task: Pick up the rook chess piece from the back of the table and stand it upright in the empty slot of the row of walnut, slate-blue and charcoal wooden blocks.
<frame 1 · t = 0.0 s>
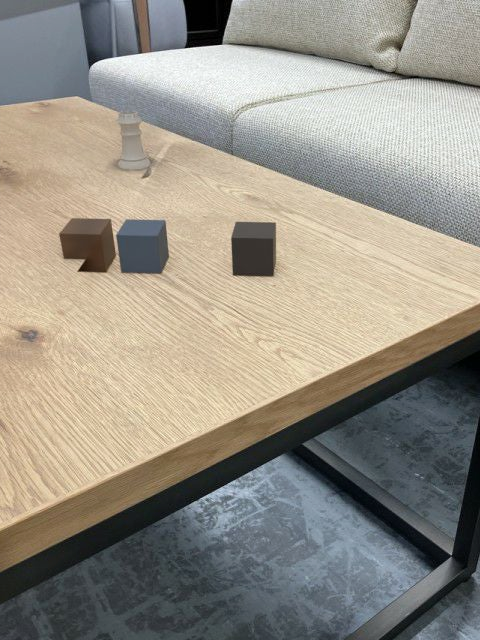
rook chess piece: (135, 176, 94), on the table
block b: (145, 264, 70), on the table
block c: (254, 267, 70), on the table
block a: (91, 263, 70), on the table
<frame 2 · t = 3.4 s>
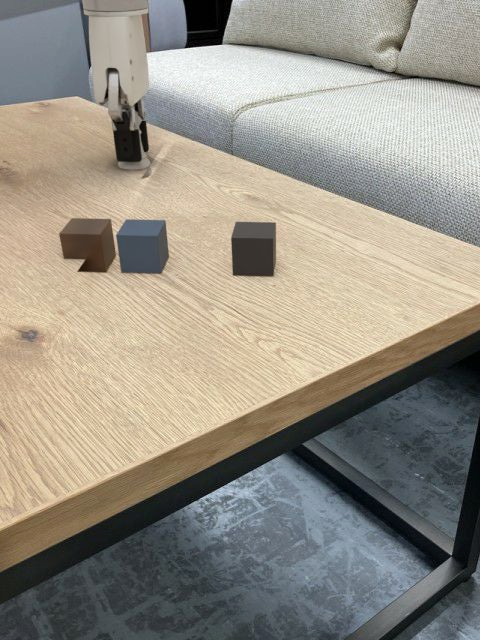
hand: (133, 154, 92), 3 cm above the table, tool pointing down, fingers closed on rook chess piece, 3 cm apart
rook chess piece: (135, 176, 94), on the table, touching gripper
everything else where it was.
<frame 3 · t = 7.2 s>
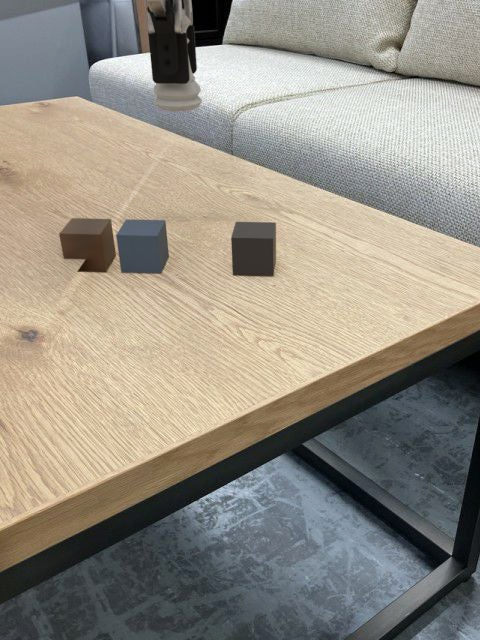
hand: (175, 75, 63), 17 cm above the table, tool pointing down, fingers closed on rook chess piece, 3 cm apart
rook chess piece: (178, 108, 65), point 14 cm above the table, touching gripper
everything else where it was.
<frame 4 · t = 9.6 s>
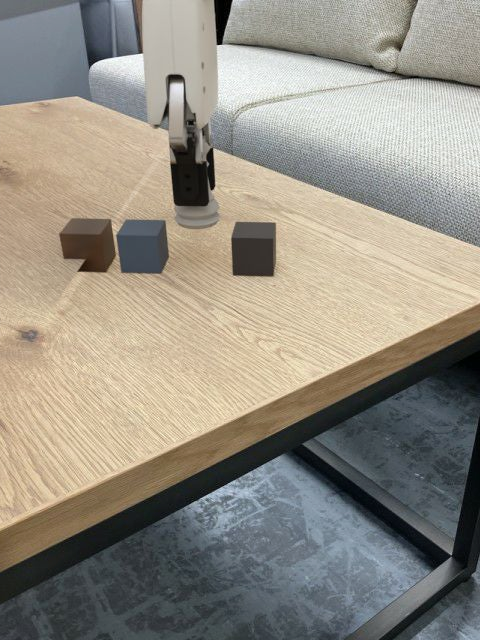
hand: (195, 195, 66), 7 cm above the table, tool pointing down, fingers closed on rook chess piece, 3 cm apart
rook chess piece: (198, 223, 67), point 4 cm above the table, touching gripper
everything else where it was.
when the fingers open (3 cm above the table, at t = 11.1 s): rook chess piece stays where it is, on the table.
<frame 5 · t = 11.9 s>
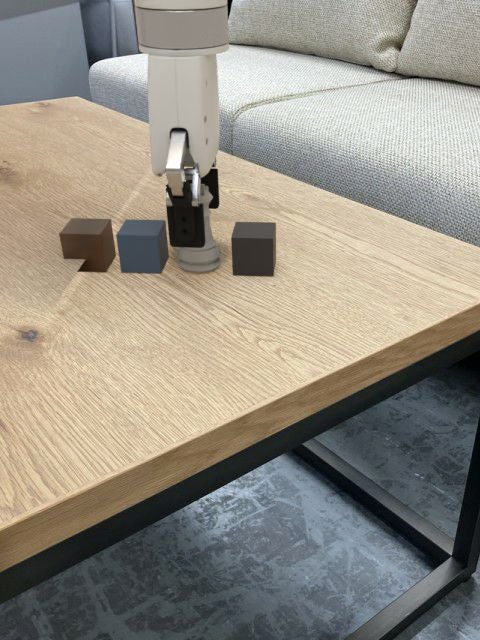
hand: (196, 225, 68), 4 cm above the table, tool pointing down, fingers open, 9 cm apart
rook chess piece: (200, 267, 70), on the table
everything else where it was.
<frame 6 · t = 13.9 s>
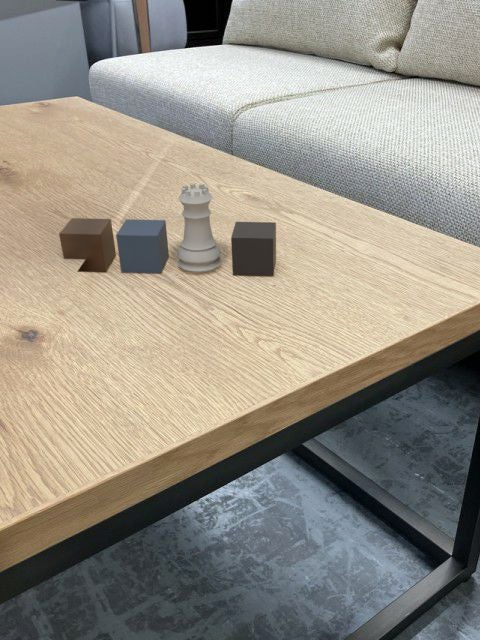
nothing on the table moved.
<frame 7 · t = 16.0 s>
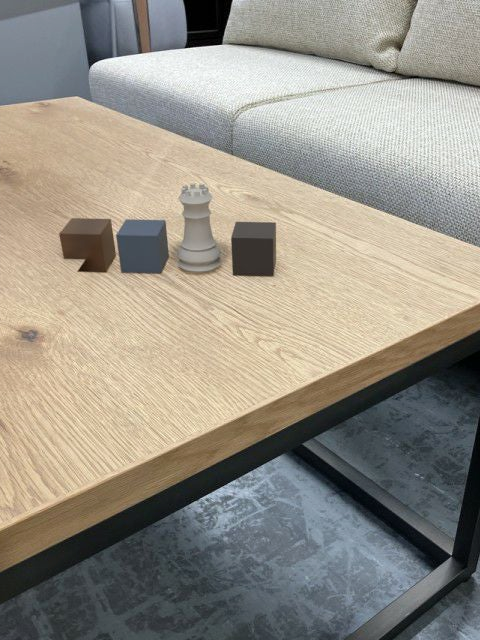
nothing on the table moved.
at the end: rook chess piece 0.0 cm from the target spot on the table beside the block b, on the table; rook chess piece tilted 0°; block c moved 0.0 cm from its start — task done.
